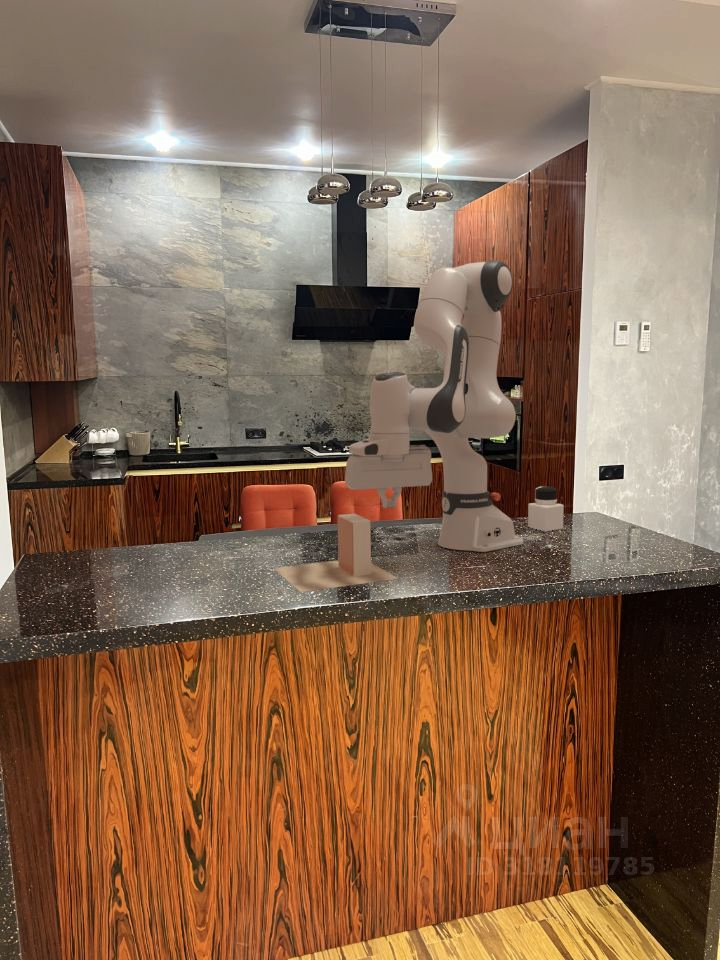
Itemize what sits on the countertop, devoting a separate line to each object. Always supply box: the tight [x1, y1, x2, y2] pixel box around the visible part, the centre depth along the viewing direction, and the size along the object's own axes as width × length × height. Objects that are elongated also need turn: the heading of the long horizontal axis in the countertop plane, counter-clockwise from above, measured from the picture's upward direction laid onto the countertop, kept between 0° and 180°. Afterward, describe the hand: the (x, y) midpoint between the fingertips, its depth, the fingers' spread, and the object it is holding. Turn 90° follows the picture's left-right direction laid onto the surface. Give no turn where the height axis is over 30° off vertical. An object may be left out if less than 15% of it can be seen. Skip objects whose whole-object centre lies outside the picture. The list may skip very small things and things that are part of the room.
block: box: [337, 513, 372, 577], centre depth 156 cm, size 4×9×12 cm, turn 23°
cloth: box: [273, 560, 399, 593], centre depth 155 cm, size 22×20×1 cm
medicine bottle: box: [527, 486, 565, 533], centre depth 201 cm, size 7×7×12 cm
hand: (389, 507), depth 158 cm, fingers closed
